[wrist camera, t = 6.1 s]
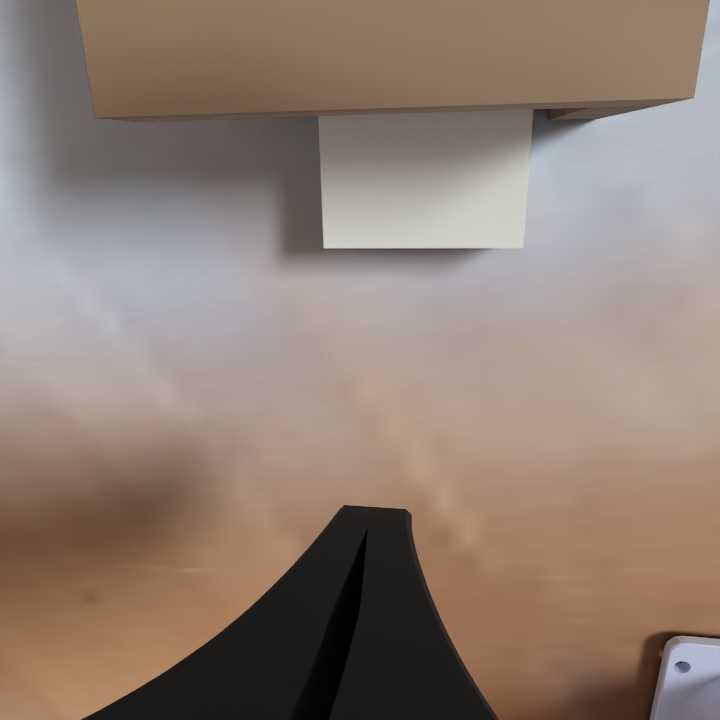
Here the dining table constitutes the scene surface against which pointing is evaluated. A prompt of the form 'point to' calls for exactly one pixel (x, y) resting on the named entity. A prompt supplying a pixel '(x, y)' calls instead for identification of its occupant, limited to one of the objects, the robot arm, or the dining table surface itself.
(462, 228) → the tile
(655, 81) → the shelf
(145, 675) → the dining table surface
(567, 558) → the dining table surface
